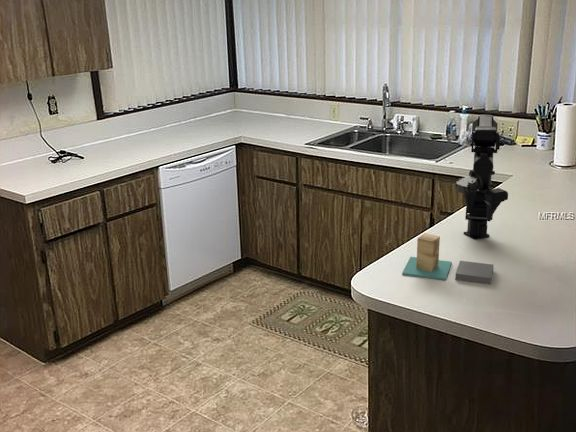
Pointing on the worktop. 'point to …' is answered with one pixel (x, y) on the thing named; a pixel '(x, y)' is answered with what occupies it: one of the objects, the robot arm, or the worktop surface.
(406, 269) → the teal mat
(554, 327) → the worktop surface
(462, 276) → the charcoal board
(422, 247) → the oak block
